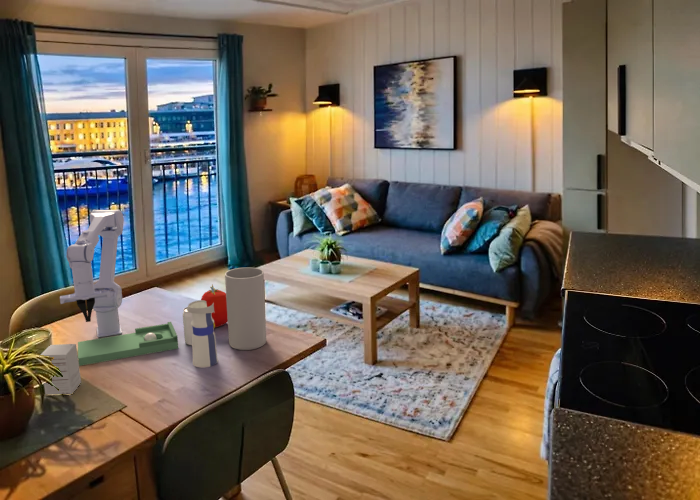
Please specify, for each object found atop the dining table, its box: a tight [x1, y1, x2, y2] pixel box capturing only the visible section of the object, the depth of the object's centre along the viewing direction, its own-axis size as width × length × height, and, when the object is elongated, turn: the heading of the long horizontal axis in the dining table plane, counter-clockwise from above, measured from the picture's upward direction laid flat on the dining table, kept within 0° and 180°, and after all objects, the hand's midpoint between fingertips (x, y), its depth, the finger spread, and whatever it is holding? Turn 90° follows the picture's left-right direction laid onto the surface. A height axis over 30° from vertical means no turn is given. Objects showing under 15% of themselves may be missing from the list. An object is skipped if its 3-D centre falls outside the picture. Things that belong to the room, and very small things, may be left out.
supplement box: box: [40, 343, 82, 395], centre depth 159 cm, size 7×7×13 cm
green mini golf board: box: [77, 321, 179, 367], centre depth 187 cm, size 14×30×4 cm, turn 115°
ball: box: [144, 333, 157, 341], centre depth 190 cm, size 4×4×4 cm
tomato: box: [200, 288, 228, 328], centre depth 205 cm, size 13×11×14 cm
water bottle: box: [187, 283, 219, 369], centre depth 175 cm, size 8×9×25 cm
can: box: [182, 306, 193, 346], centre depth 191 cm, size 6×6×12 cm
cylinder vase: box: [224, 267, 267, 351], centre depth 188 cm, size 12×12×25 cm
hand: (88, 320), depth 184 cm, fingers closed
